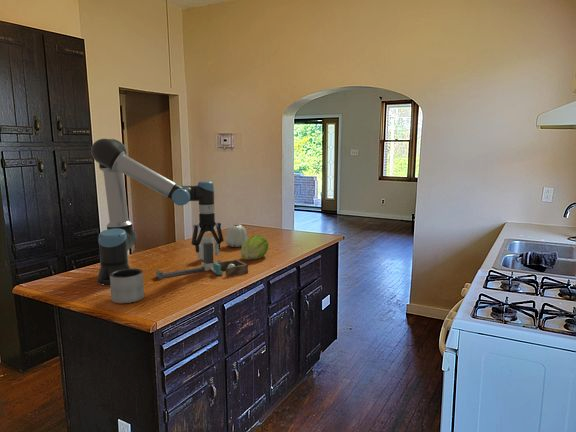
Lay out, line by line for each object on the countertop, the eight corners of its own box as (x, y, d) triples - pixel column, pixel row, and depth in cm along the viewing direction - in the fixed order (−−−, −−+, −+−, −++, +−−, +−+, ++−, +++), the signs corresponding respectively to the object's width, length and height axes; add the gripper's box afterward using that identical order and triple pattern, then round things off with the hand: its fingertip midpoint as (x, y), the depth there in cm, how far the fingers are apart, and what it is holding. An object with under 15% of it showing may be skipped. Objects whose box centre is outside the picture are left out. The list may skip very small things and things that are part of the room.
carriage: (213, 276, 198) (213, 248, 196) (201, 268, 211) (200, 242, 209) (225, 274, 202) (224, 247, 199) (212, 266, 214) (211, 241, 212)
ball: (229, 265, 203) (237, 264, 205) (226, 263, 207) (233, 262, 209) (229, 273, 204) (236, 272, 206) (226, 271, 207) (233, 270, 209)
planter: (104, 302, 165) (102, 275, 164) (126, 292, 177) (125, 267, 175) (129, 306, 161) (127, 278, 159) (151, 296, 173) (149, 270, 171)
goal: (227, 276, 198) (227, 268, 198) (216, 270, 209) (216, 262, 208) (248, 272, 205) (247, 264, 204) (236, 266, 215) (236, 259, 214)
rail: (159, 279, 194) (159, 273, 194) (156, 276, 198) (155, 270, 198) (224, 268, 213) (224, 262, 212) (220, 266, 217) (220, 260, 216)
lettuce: (228, 251, 223) (246, 240, 217) (246, 238, 243) (264, 228, 237) (241, 271, 224) (260, 261, 218) (258, 257, 243) (276, 247, 237)
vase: (244, 243, 269) (244, 222, 267) (249, 247, 256) (249, 226, 254) (223, 244, 265) (223, 223, 263) (227, 249, 252) (227, 227, 250)
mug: (207, 261, 226) (206, 239, 224) (198, 259, 230) (197, 238, 228) (220, 257, 234) (219, 236, 232) (211, 255, 238) (210, 235, 236)
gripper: (188, 215, 197) (190, 262, 200) (229, 211, 209) (231, 255, 212) (183, 213, 203) (184, 258, 206) (223, 210, 215) (224, 252, 218)
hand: (208, 257), depth 209 cm, fingers open, 9 cm apart
